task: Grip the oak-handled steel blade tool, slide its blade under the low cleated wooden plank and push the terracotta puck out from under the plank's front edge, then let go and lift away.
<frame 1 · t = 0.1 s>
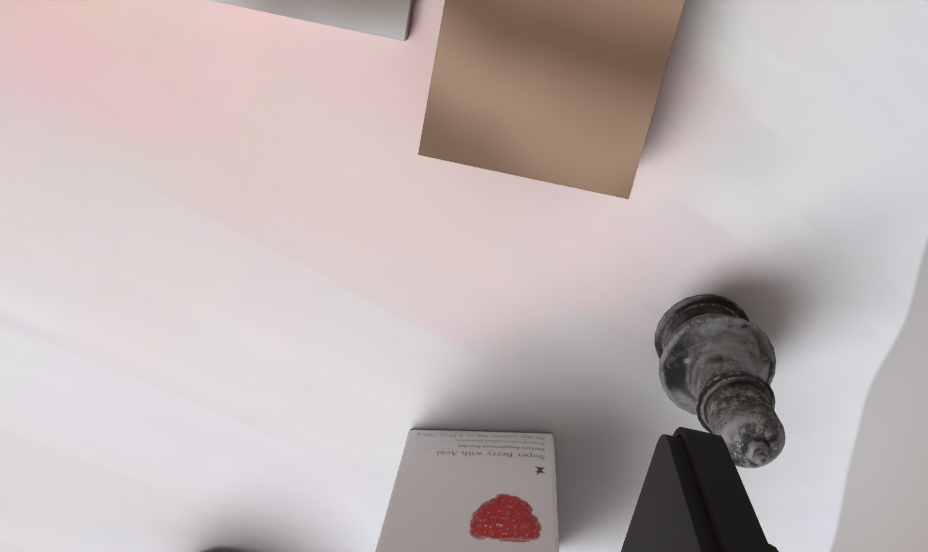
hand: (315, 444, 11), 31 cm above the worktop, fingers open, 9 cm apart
cleated wooden plank: (555, 16, 38), on the worktop
supplement box: (481, 487, 48), on the worktop
salt shaker: (702, 336, 43), on the worktop
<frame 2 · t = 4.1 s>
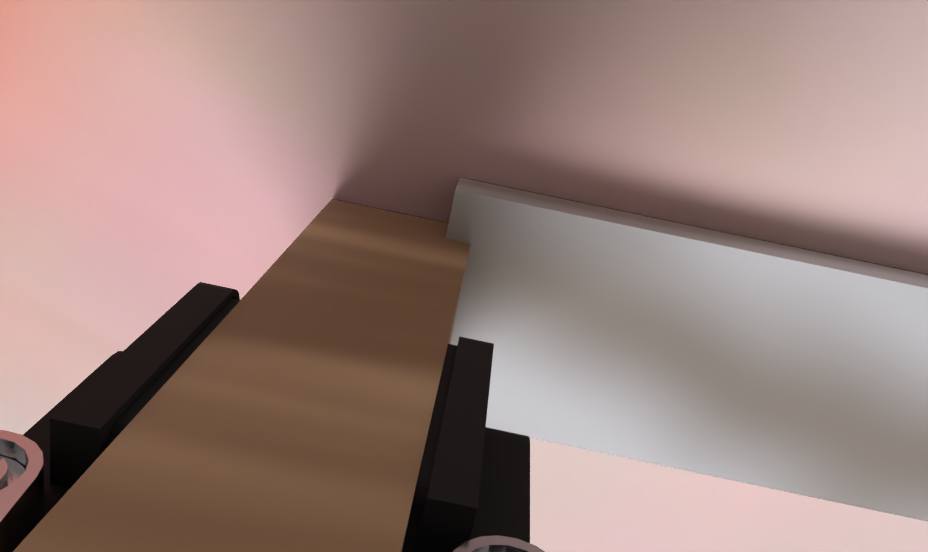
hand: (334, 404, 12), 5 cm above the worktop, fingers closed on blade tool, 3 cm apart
blade tool: (391, 279, 17), on the worktop, touching gripper
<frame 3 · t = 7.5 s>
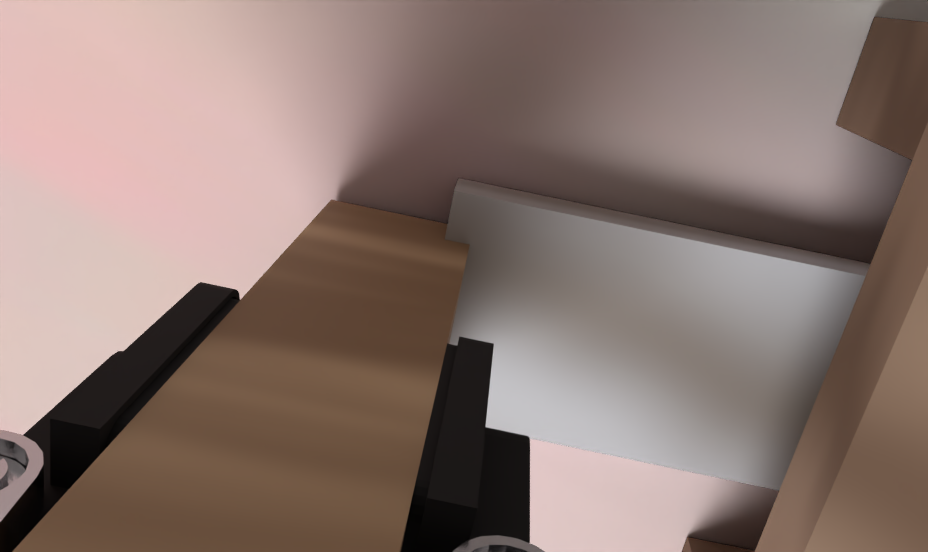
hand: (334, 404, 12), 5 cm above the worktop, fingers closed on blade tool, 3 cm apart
blade tool: (391, 280, 17), on the worktop, touching gripper, terracotta puck
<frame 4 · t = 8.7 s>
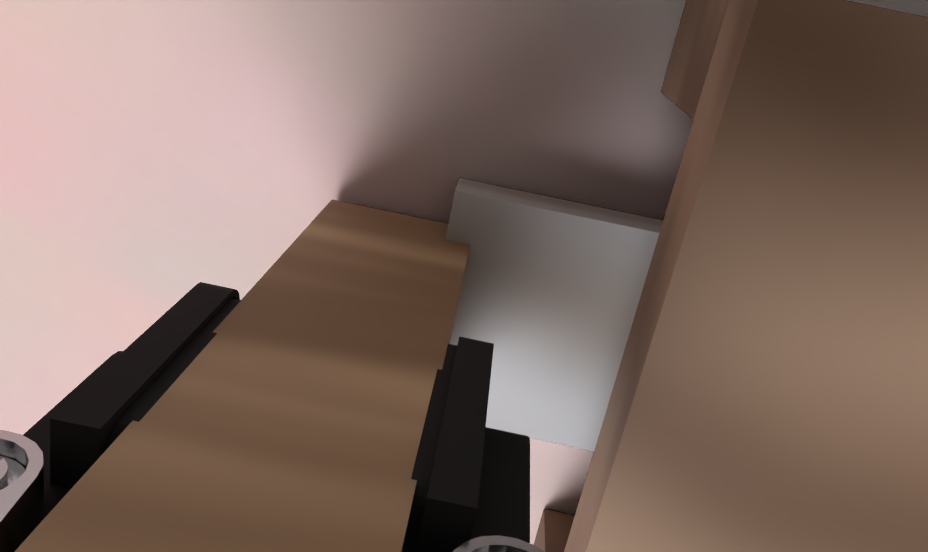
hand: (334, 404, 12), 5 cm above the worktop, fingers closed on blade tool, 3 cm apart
cleated wooden plank: (822, 370, 17), on the worktop
blade tool: (391, 280, 17), on the worktop, touching gripper
when the fingers open (5 cm above the worktop, at t = 9.6 s): blade tool stays where it is, on the worktop.
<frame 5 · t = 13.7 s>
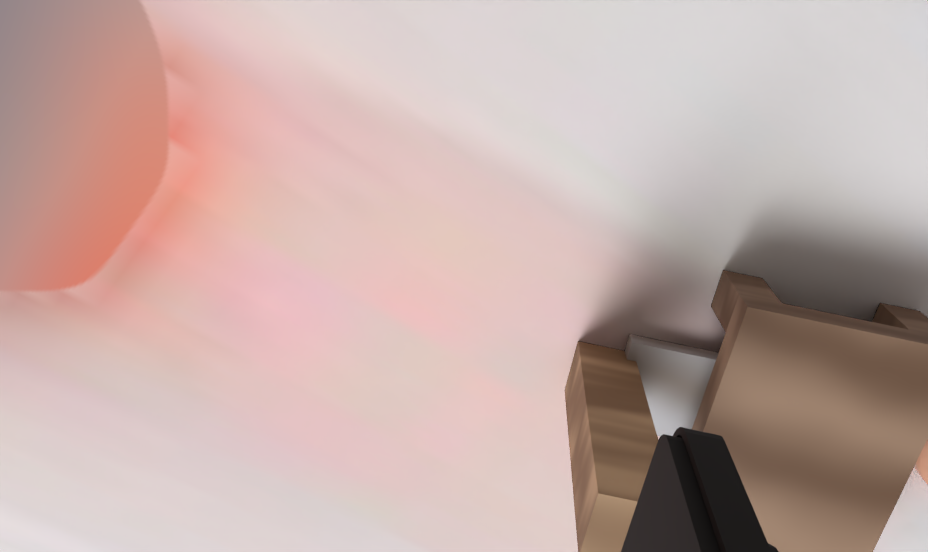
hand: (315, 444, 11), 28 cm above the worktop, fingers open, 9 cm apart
cleated wooden plank: (774, 409, 41), on the worktop
blade tool: (598, 371, 41), on the worktop
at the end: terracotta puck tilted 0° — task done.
